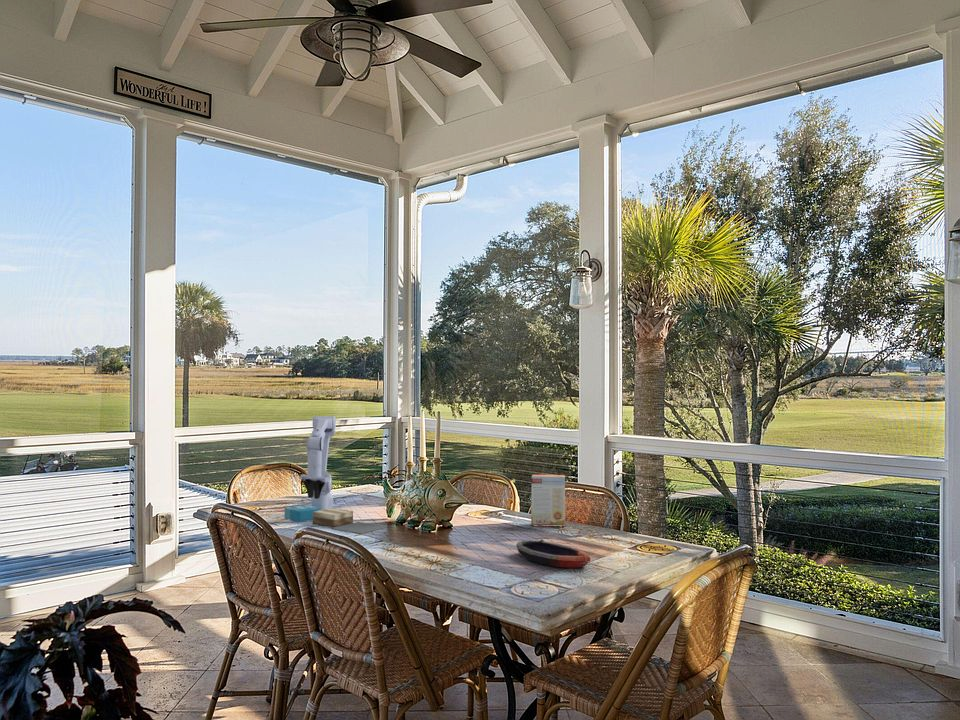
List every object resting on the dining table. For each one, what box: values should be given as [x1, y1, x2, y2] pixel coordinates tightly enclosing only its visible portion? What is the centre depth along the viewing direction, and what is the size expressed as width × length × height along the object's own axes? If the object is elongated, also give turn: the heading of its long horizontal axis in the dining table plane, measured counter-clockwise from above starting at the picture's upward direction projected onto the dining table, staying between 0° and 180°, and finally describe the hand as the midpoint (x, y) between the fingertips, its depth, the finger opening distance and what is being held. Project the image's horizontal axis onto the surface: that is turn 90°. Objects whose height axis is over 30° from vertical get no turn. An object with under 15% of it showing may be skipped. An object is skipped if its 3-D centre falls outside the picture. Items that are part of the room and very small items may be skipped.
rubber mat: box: [330, 521, 389, 535], centre depth 296 cm, size 16×16×1 cm
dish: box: [515, 539, 591, 569], centre depth 248 cm, size 16×31×5 cm, turn 40°
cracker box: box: [530, 474, 566, 526], centre depth 307 cm, size 14×6×21 cm, turn 84°
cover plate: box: [313, 507, 354, 520], centre depth 304 cm, size 11×12×2 cm
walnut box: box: [312, 515, 354, 528], centre depth 304 cm, size 11×12×3 cm
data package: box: [283, 504, 321, 523], centre depth 313 cm, size 12×4×12 cm
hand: (313, 498), depth 310 cm, fingers open, 3 cm apart
